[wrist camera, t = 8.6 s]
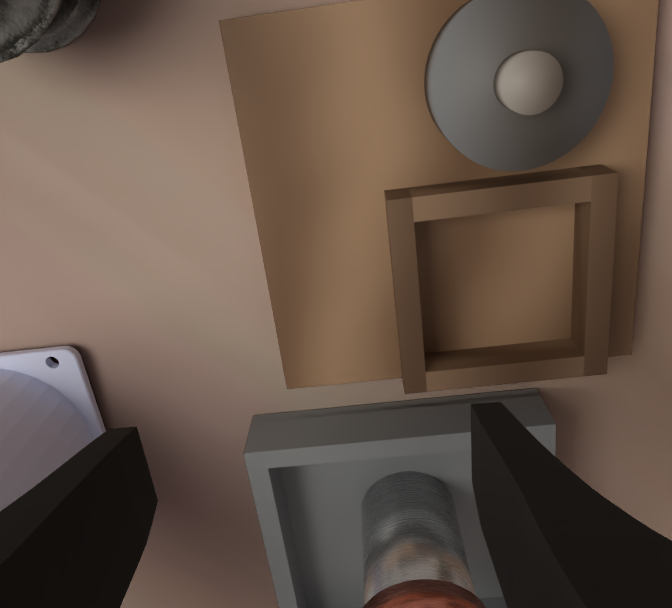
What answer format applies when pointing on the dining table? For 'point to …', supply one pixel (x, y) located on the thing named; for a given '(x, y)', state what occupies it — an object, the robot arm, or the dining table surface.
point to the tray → (365, 485)
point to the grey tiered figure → (42, 24)
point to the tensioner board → (447, 184)
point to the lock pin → (413, 546)
